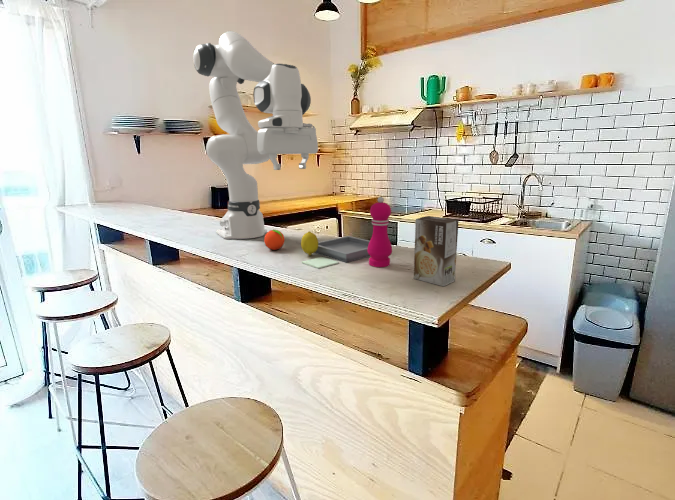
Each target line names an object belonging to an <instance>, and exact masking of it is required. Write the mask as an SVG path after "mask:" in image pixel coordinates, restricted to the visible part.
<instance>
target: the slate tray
mask: <svg viewBox="0 0 675 500" xmlns="http://www.w3.org/2000/svg"><path fill="white" fill-rule="evenodd" d="M369 242H370V240H369V239H365V238H360V237H354V236H351V235H345V236H342V237H336V238H331V239H326V240H322V241H318V249H317V251H316V252H315V253H314V254H316V255H321V256H322V257H325V258H328V259H332V260H335V261H338V262H343V263H351V262H354V261H358V260H361V259H365V258H368V257H369V258H370V257H371V256H370V255H369V254H368V252H367V250H368V244H369Z"/></svg>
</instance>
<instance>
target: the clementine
mask: <svg viewBox="0 0 675 500" xmlns="http://www.w3.org/2000/svg"><path fill="white" fill-rule="evenodd" d="M285 241H286V239H285V236H284V234H283V232H282V231H280V230H278V229H271V230H269V231H267V233H265V234H264V240H263V242H264V244H265V246H266V247H267V248H268V249H269V250H272V251H277V250H279V249H281V248H282V247H283V246H284V244H285Z"/></svg>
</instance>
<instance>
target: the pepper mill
mask: <svg viewBox="0 0 675 500" xmlns="http://www.w3.org/2000/svg"><path fill="white" fill-rule="evenodd" d="M384 201H385V199H384V197H382V196H379V197H378V198H377V202H375V203H373V204H372V205H371V206H370V211H369V214H370V216H371V225H372V235H371V237H370V240H369V241H370V242H369V244H368V250H367V252H368V254H369V255H370V256H369V258H368V265H369V266H371V267H373V268H385V267H389V266H390V265H391V258H390V256H391V254H392V252H393V247H392V242H391V241H390V237H389V234H388V226H389V225H390V223H389V221H390V219H389V218H390V216H392V209H391V206H390V205H389V204H388V203H386V202H384Z"/></svg>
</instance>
